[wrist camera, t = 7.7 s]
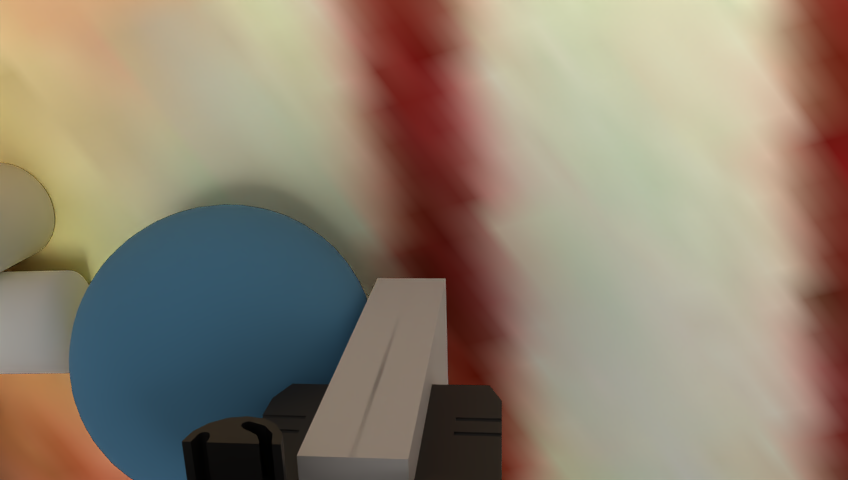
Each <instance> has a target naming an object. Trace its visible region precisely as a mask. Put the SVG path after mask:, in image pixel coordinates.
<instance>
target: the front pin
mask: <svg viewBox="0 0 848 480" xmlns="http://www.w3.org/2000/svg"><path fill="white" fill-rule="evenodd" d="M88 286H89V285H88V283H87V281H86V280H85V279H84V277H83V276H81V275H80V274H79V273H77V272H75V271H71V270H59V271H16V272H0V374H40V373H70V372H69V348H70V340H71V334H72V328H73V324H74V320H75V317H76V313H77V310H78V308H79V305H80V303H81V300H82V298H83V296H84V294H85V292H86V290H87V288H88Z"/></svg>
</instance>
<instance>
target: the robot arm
mask: <svg viewBox="0 0 848 480" xmlns="http://www.w3.org/2000/svg"><path fill="white" fill-rule="evenodd" d="M182 448H183V455H184V462H185V469H186V476H187V480H502V401H501V400H500V398H499V397H498V396H497V394H496V393H495V392H494V391H493V389H492V388H491V387H490V386H486V385H448V357H447V314H446V279H442V278H377V280H376V282H375V285H374V287H373V289H372V291H371V293H370V296H369V298H368V300H367V302H366V304H365V307H364V309H363V311H362V313H361V315H360V318H359V320H358V322H357V324H356V326H355V329H354V331H353V333H352V335H351V337H350V340H349V342H348V344H347V346H346V348H345V351H344V353H343V355H342V357H341V359H340V362H339V364H338V366H337V368H336V370H335V373H334V375H333V377H332V379H331V381H330V384H291V385H290V386H288V387H287V388H286V389H284V390H283V391H281V392H280V393H279V394H277V395H276V396H274V397H273V398H272V400H271V401H270V403H269V405H268V407H267V408H266V410H265V412H264V413H263V418H256V417H249V416H244V417H231V418H225V419H222V420H218V421H214V422H210V423H208V424H206V425H204V426H202V427H200V428H198V429H196V430H194V431H192V432H191V433H190V434H189V435H188V436H187V437H186V438H185V439H184V440H183V441H182Z"/></svg>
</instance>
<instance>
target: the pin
mask: <svg viewBox="0 0 848 480" xmlns="http://www.w3.org/2000/svg"><path fill="white" fill-rule="evenodd" d="M54 224H55V216H54V210H53V206H52V203H51V200H50V198H49V196H48V194H47V192H46V190H45V189H44V187H43V186H42V185H41V184H40V183H39V181H38V180H36V179H35V178H34V177H33V176H32V175H31V174H29V173H28V172H26V171H25V170H23V169H21V168H19V167H17V166H14V165H11V164H6V163H0V272H2V271H4V270H6V269H8V268H9V267H11V266H13V265H15V264H17V263H19V262H21V261H23V260H24V259H26V258H28V257H30V256H32V255H34V254H36V253H37V252H39V251H40V250H41V249H43V248H44V247H45V246H46V244H47V243H48V242H49V240H50V238H51V236H52V233H53V230H54Z"/></svg>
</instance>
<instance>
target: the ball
mask: <svg viewBox="0 0 848 480" xmlns="http://www.w3.org/2000/svg"><path fill="white" fill-rule="evenodd" d="M366 302H367V298H366V295H365V293H364V291H363V289H362V287H361V284H360V282H359V280H358V278H357V277H356V275H355V274H354V272H353V271H352V269H351V268H350V266H349V265H348V263H347V262H346V261H345V260H344V258H343V257H342V256H341V255H340V254H339V253H338V251H337V250H336V249H335V248H334V247H333V246H332V245H331V244H330V243H328V242H327V241H326V240H325V239H324V238H323V237H322V236H320V235H319V234H317V233H316V232H314V231H313V230H311V229H310V228H308V227H307V226H305V225H304V224H302V223H300V222H298V221H296V220H294V219H292V218H290V217H288V216H286V215H283V214H280V213H277V212H273V211H270V210H267V209H262V208H256V207H251V206H245V205H225V204H224V205H215V206H205V207H197V208H193V209H189V210H186V211H182V212H179V213H176V214H173V215H170V216H168V217H166V218H163V219H161V220H159V221H156V222H155V223H153V224H151V225H149V226H148V227H146V228H144V229H143V230H141V231H140V232H138V233H136V234H135V235H134V236H132V237H131V238H130V239H128V240H127V241H126V242H125V243H124V244H123V245H122V246H120V247H119V248H118V249H117V250H116V251H115V252H114V253H113V254H112V255H111V256H110V257H109V258H108V259H107V260H106V262H105V263H104V264H103V265H102V267H101V268H100V269H99V271H98V272H97V274H96V275H95V277H94V278H93V280H92V281H91V283H90V285H89V286H88V288H87V290H86V292H85V294H84V296H83V298H82V300H81V303H80V305H79V308H78V310H77V313H76V317H75V320H74V324H73V328H72V334H71V340H70V348H69V372H70V379H71V386H72V393H73V396H74V400H75V403H76V406H77V409H78V412H79V414H80V417H81V419H82V421H83V423H84V425H85V427H86V429H87V431H88V432H89V434H90V436H91V438H92V439H93V441H94V442H95V444H96V445H97V446H98V447H99V449H100V450H101V451H102V452H103V453H104V454H105V456H106V457H107V458H108V459H109V460H110V461H111V463H113V464H114V465H115V466H116V467H117V468H118V469H120V470H121V471H122V472H123V473H124V474H126V475H127V476H128V477H130V478H131V479H133V480H187V476H186V469H185V462H184V455H183V448H182V441H183V440H184V439H185V438H186V437H187V436H188V435H189V434H190V433H191V432H192V431H194V430H196V429H198V428H200V427H202V426H204V425H206V424H208V423H210V422H214V421H218V420H222V419H225V418H231V417H244V416H249V417H256V418H263V413H264V412H265V410H266V408H267V407H268V405H269V403H270V401H271V400H272V398H273V397H274V396H276V395H277V394H279V393H280V392H281V391H283V390H284V389H286V388H287V387H288V386H290V385H291V384H330V381H331V379H332V377H333V375H334V373H335V370H336V368H337V366H338V364H339V362H340V359H341V357H342V355H343V353H344V351H345V348H346V346H347V344H348V342H349V340H350V337H351V335H352V333H353V331H354V329H355V326H356V324H357V322H358V320H359V318H360V315H361V313H362V311H363V309H364V307H365V304H366Z"/></svg>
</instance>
